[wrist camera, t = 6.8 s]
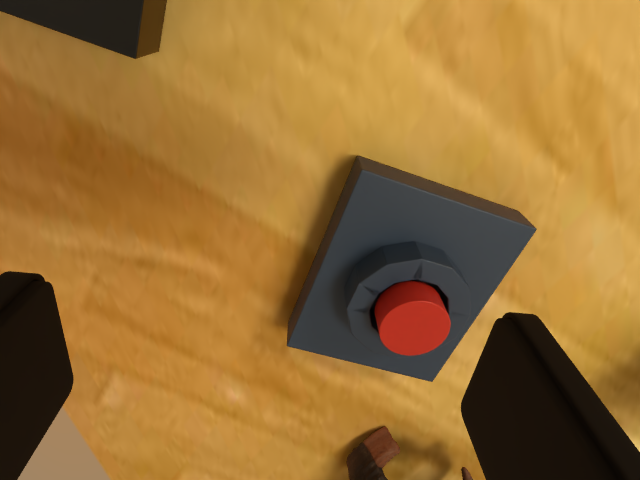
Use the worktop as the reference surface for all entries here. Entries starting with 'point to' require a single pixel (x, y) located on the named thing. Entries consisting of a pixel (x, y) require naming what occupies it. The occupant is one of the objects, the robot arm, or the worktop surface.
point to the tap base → (99, 21)
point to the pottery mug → (377, 457)
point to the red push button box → (402, 264)
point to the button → (411, 318)
